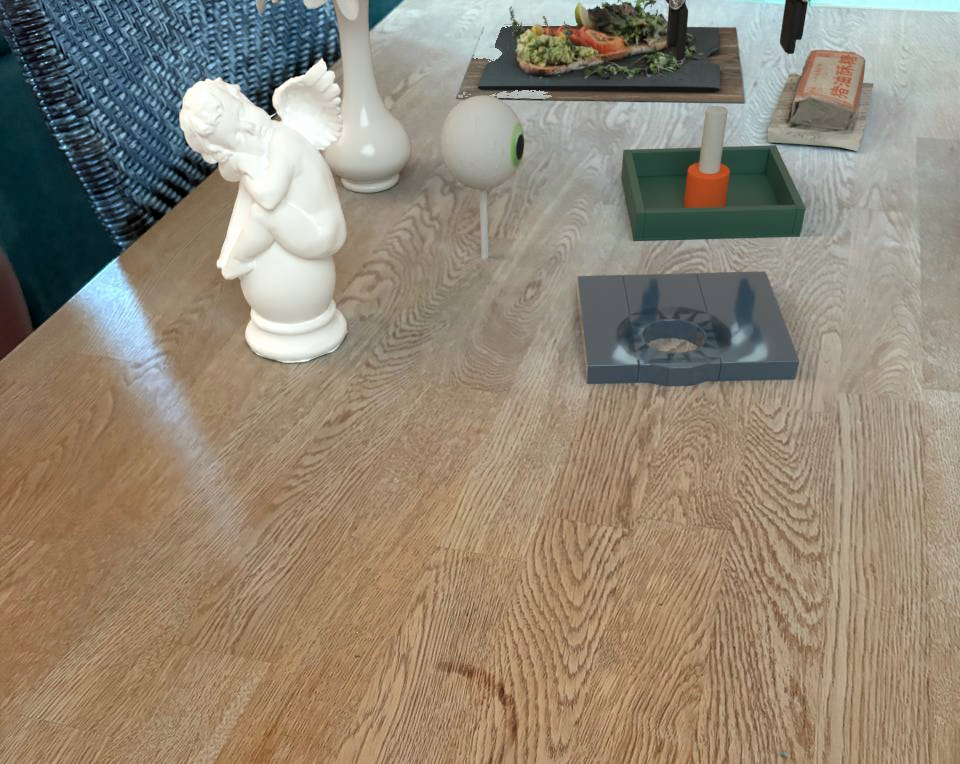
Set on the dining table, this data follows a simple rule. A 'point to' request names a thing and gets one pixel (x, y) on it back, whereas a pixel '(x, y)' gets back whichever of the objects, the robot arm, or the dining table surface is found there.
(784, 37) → the robot arm
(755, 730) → the dining table surface
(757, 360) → the plate
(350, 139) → the flower vase
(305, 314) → the cherub figurine
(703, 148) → the stopper
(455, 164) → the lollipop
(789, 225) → the green tray
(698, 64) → the plated dish
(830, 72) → the packaged product
